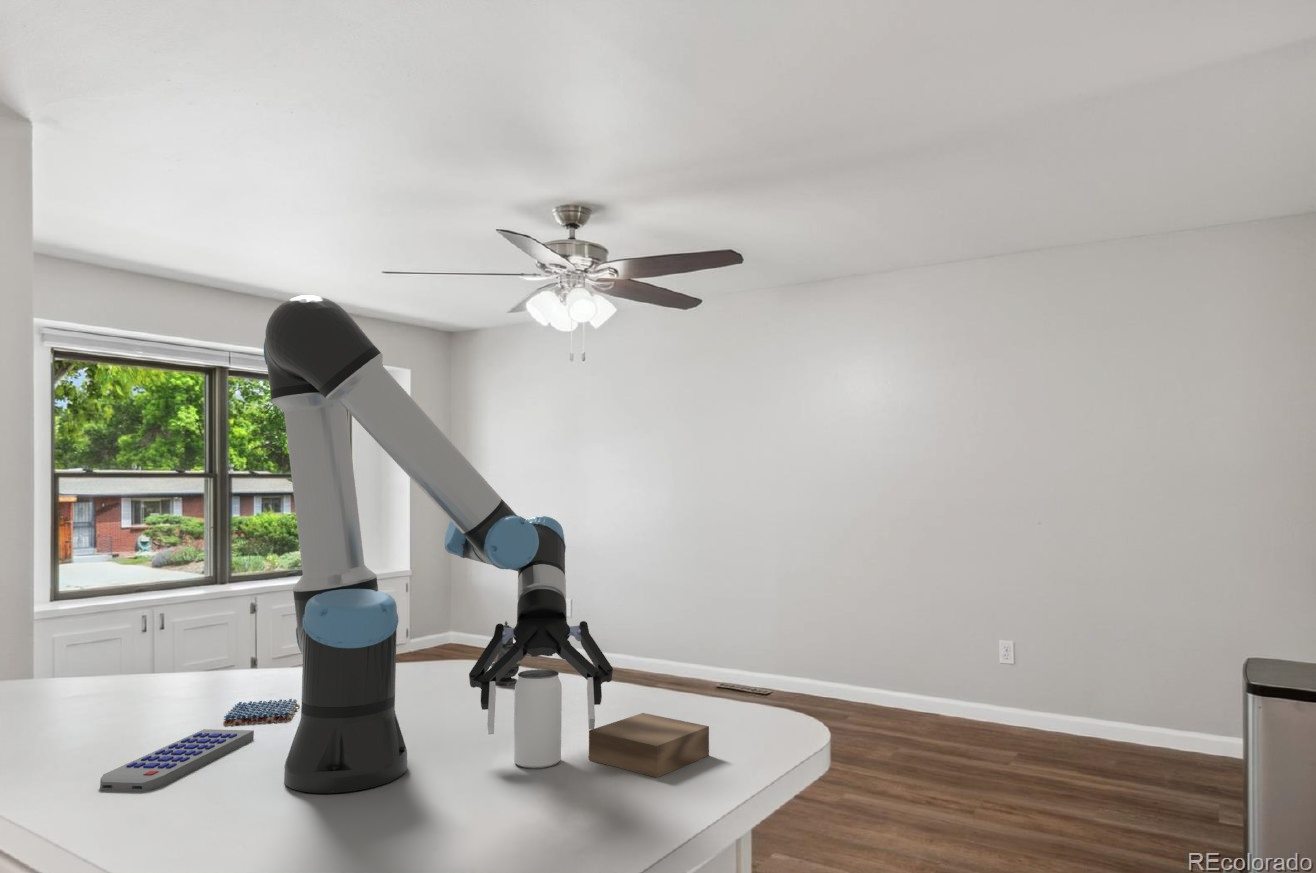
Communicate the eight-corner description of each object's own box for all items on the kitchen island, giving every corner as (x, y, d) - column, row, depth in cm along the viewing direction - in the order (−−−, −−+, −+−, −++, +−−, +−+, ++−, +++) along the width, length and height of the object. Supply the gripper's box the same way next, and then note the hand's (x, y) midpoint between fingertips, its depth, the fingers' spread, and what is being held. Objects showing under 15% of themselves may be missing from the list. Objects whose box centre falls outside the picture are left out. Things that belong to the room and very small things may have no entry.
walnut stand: (657, 777, 108) (657, 746, 108) (588, 759, 115) (589, 730, 116) (709, 755, 118) (708, 726, 118) (642, 740, 125) (642, 712, 125)
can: (503, 765, 113) (505, 675, 114) (532, 752, 119) (533, 667, 120) (542, 772, 110) (543, 680, 111) (570, 759, 116) (570, 671, 117)
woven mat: (219, 730, 132) (220, 717, 132) (235, 713, 142) (235, 701, 143) (290, 725, 135) (290, 712, 135) (300, 709, 145) (301, 697, 145)
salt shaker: (523, 679, 167) (524, 619, 167) (515, 686, 161) (516, 623, 162) (495, 679, 167) (496, 618, 168) (486, 685, 161) (487, 623, 162)
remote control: (253, 743, 125) (254, 728, 125) (151, 795, 103) (152, 777, 103) (203, 742, 126) (204, 727, 126) (90, 793, 103) (92, 775, 104)
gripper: (620, 613, 133) (631, 736, 118) (461, 618, 130) (449, 745, 114) (623, 584, 128) (634, 707, 113) (458, 588, 125) (445, 716, 109)
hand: (541, 727), depth 113 cm, fingers open, 13 cm apart
